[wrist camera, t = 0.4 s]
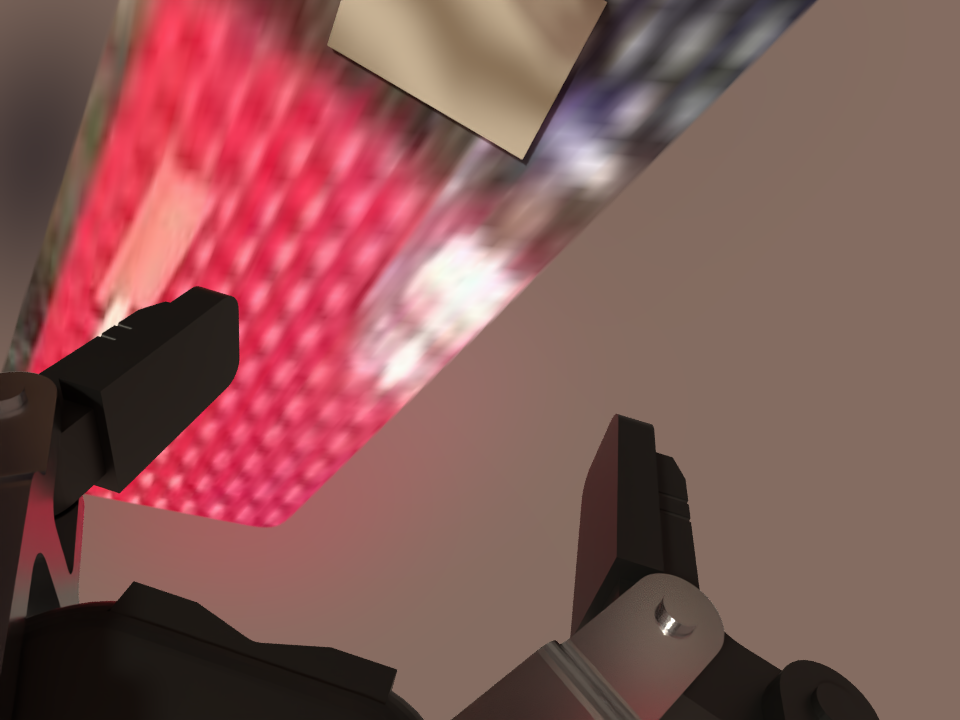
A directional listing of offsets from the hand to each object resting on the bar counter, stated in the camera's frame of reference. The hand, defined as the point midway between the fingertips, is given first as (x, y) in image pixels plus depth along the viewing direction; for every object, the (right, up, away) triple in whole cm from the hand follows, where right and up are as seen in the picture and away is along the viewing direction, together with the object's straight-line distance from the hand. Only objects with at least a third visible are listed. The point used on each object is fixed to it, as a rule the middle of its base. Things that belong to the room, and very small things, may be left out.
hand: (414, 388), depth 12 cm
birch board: (0, +19, +20) cm, 28 cm away
